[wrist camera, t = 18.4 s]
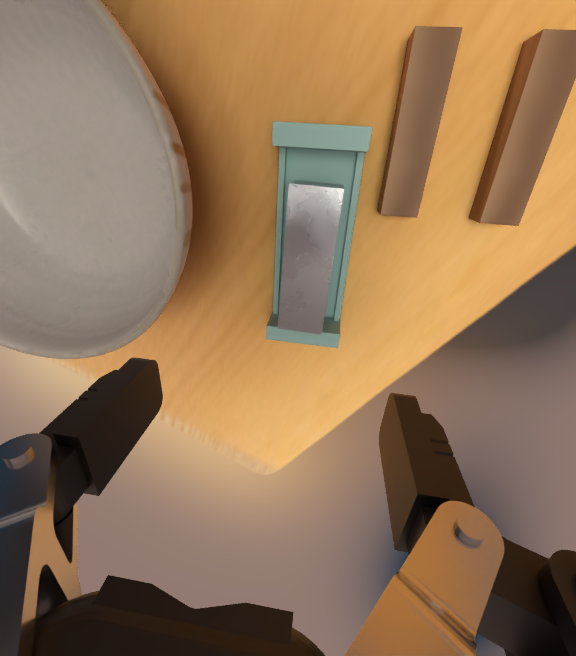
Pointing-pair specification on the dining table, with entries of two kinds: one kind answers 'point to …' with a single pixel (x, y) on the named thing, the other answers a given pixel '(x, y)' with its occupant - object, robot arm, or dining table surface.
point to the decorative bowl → (84, 183)
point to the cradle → (340, 168)
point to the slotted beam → (511, 134)
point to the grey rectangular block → (308, 254)
